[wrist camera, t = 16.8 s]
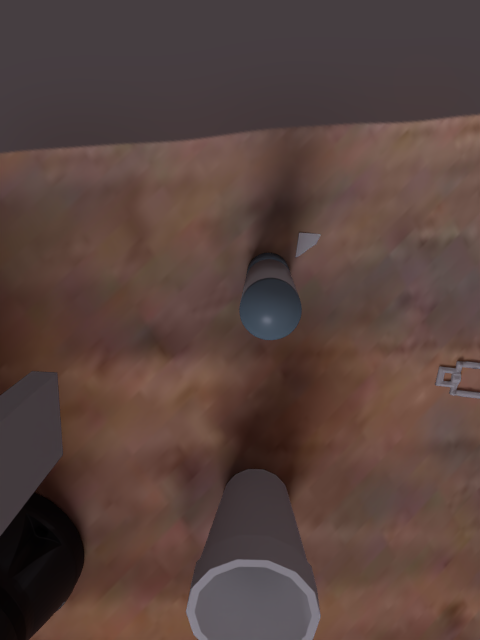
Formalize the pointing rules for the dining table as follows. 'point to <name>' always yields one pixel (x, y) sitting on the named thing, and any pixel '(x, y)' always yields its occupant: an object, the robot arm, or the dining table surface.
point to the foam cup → (254, 568)
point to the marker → (269, 298)
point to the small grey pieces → (311, 239)
